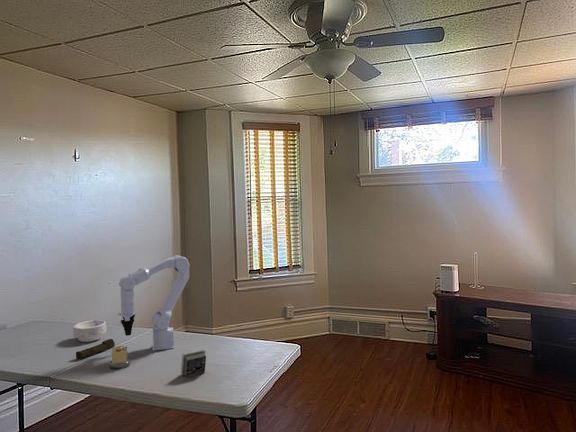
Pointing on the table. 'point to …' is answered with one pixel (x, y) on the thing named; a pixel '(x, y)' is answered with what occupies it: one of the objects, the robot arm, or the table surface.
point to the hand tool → (95, 349)
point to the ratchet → (120, 365)
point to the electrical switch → (193, 363)
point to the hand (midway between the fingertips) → (128, 332)
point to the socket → (119, 355)
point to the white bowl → (89, 330)
